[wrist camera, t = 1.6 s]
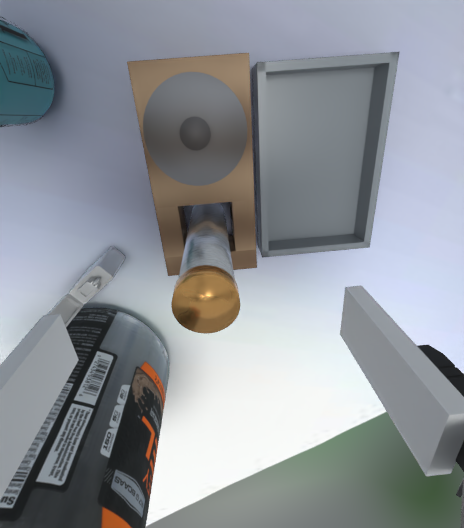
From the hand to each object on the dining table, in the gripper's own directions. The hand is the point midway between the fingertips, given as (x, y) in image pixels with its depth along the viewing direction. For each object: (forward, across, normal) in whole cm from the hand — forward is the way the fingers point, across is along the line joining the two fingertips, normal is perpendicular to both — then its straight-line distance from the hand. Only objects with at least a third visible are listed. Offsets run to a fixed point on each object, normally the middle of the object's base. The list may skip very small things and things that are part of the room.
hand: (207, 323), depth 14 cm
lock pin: (+16, 0, 0) cm, 16 cm away
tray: (+16, +10, +4) cm, 19 cm away
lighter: (+16, -12, -4) cm, 21 cm away
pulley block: (+16, 0, +4) cm, 17 cm away
